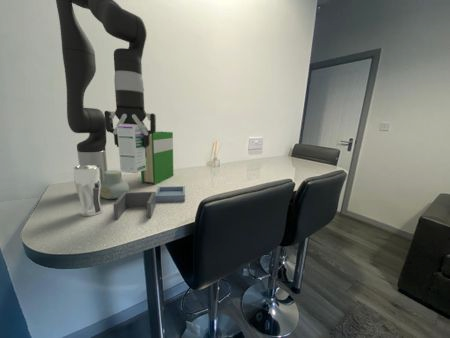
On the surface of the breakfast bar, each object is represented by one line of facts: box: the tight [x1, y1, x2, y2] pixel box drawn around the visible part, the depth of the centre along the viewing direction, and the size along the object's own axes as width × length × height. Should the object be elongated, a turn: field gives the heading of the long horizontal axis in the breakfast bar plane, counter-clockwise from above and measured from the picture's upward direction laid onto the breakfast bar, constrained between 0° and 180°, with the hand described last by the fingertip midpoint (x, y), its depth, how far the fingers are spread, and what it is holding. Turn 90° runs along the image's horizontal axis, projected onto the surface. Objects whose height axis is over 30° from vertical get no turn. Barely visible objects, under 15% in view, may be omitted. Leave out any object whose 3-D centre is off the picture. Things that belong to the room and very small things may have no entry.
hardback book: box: [140, 131, 174, 185], centre depth 102 cm, size 18×7×24 cm, turn 166°
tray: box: [155, 185, 186, 203], centre depth 81 cm, size 11×11×2 cm
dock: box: [112, 191, 157, 220], centre depth 66 cm, size 10×10×5 cm
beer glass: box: [73, 165, 104, 217], centre depth 63 cm, size 7×7×15 cm
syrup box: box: [117, 124, 147, 174], centre depth 62 cm, size 6×6×14 cm
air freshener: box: [100, 169, 131, 200], centre depth 77 cm, size 11×8×10 cm
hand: (132, 147), depth 62 cm, fingers closed on syrup box, 7 cm apart
